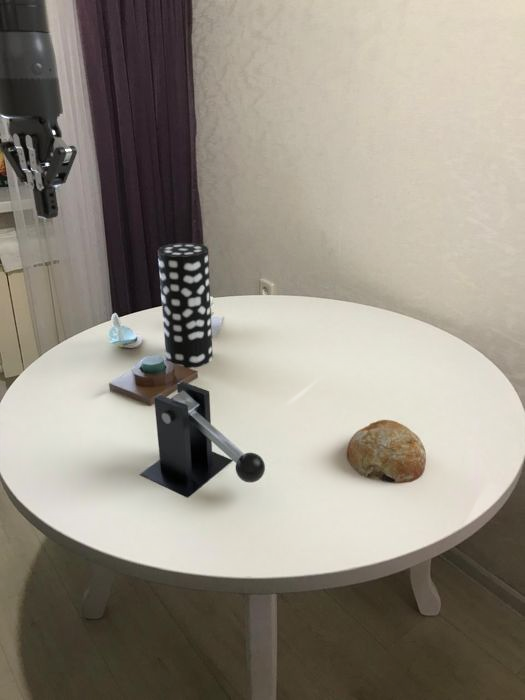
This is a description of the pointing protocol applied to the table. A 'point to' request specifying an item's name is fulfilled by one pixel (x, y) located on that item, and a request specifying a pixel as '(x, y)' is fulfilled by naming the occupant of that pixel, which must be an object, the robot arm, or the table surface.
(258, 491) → the table surface
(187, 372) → the button block
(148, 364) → the button
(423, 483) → the table surface
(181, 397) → the lever
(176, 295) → the white-spotted black cylinder
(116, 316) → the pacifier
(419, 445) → the bread roll
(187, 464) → the bracket
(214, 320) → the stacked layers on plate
